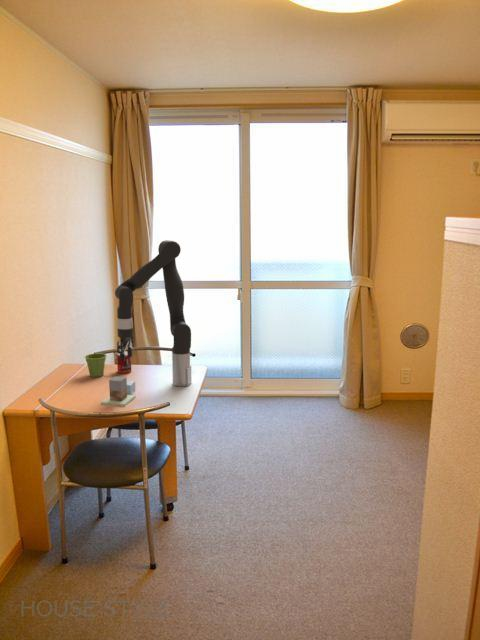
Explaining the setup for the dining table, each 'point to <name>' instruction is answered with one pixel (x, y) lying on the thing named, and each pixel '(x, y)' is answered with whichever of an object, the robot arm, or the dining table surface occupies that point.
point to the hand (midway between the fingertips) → (126, 358)
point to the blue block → (130, 387)
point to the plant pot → (96, 364)
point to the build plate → (121, 403)
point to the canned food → (124, 364)
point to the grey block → (117, 383)
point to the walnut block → (118, 395)
